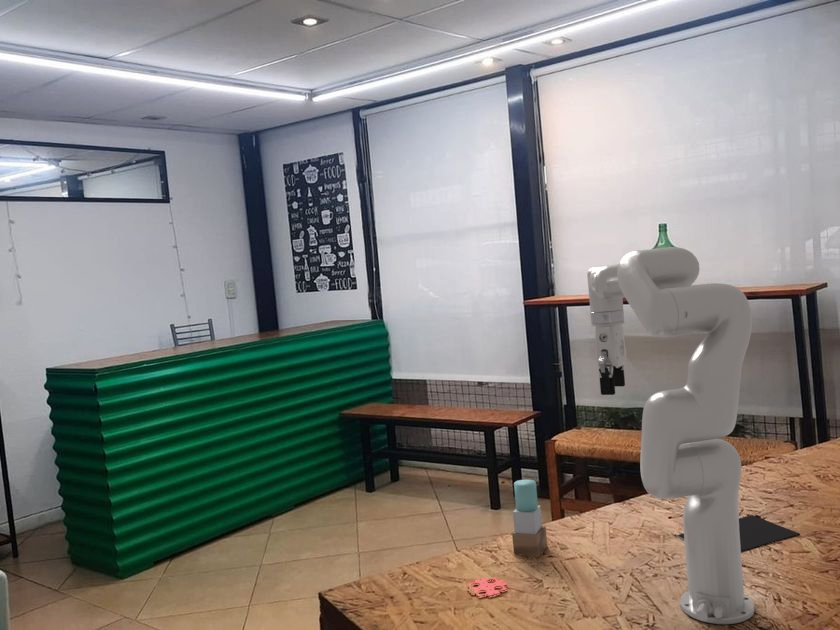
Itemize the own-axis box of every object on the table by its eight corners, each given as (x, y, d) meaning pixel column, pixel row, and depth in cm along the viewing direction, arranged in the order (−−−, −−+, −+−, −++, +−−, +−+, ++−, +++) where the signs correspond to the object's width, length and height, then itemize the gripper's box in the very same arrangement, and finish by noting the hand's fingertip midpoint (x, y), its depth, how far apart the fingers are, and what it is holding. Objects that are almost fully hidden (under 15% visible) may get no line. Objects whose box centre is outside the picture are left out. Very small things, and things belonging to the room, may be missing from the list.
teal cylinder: (533, 512, 163) (531, 486, 163) (512, 511, 166) (510, 485, 165) (540, 505, 168) (538, 480, 167) (520, 503, 170) (518, 478, 170)
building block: (476, 599, 145) (512, 589, 147) (462, 583, 152) (496, 574, 155) (476, 602, 145) (512, 593, 147) (462, 586, 152) (497, 578, 155)
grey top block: (535, 534, 163) (533, 513, 163) (514, 532, 166) (512, 511, 165) (542, 526, 168) (540, 505, 167) (521, 524, 170) (519, 504, 170)
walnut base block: (538, 557, 163) (536, 535, 163) (514, 554, 166) (512, 533, 166) (547, 546, 168) (545, 525, 168) (523, 544, 171) (521, 523, 171)
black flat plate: (801, 537, 161) (749, 517, 175) (801, 532, 161) (749, 511, 175) (720, 561, 153) (673, 538, 167) (720, 555, 153) (672, 532, 167)
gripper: (614, 321, 159) (620, 398, 161) (631, 313, 174) (637, 383, 176) (581, 323, 163) (587, 398, 164) (600, 315, 178) (606, 383, 179)
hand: (613, 390), depth 170 cm, fingers open, 9 cm apart
